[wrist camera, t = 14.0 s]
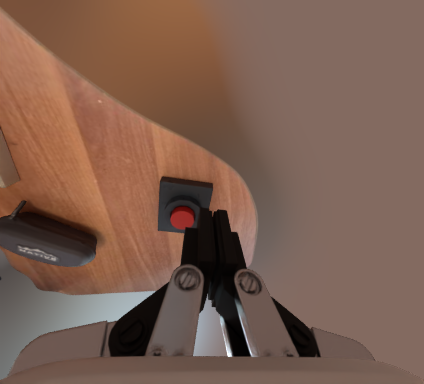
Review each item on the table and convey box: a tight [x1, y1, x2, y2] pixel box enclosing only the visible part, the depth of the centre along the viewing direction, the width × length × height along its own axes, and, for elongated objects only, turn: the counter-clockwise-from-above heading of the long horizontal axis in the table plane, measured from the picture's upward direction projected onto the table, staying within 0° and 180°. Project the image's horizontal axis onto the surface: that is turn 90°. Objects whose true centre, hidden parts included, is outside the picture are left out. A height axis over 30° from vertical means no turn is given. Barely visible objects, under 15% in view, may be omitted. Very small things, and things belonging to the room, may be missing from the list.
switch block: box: [158, 177, 213, 233], centre depth 36 cm, size 12×10×4 cm
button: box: [170, 206, 194, 229], centre depth 34 cm, size 4×4×2 cm
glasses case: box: [0, 200, 97, 267], centre depth 36 cm, size 18×10×8 cm, turn 58°
